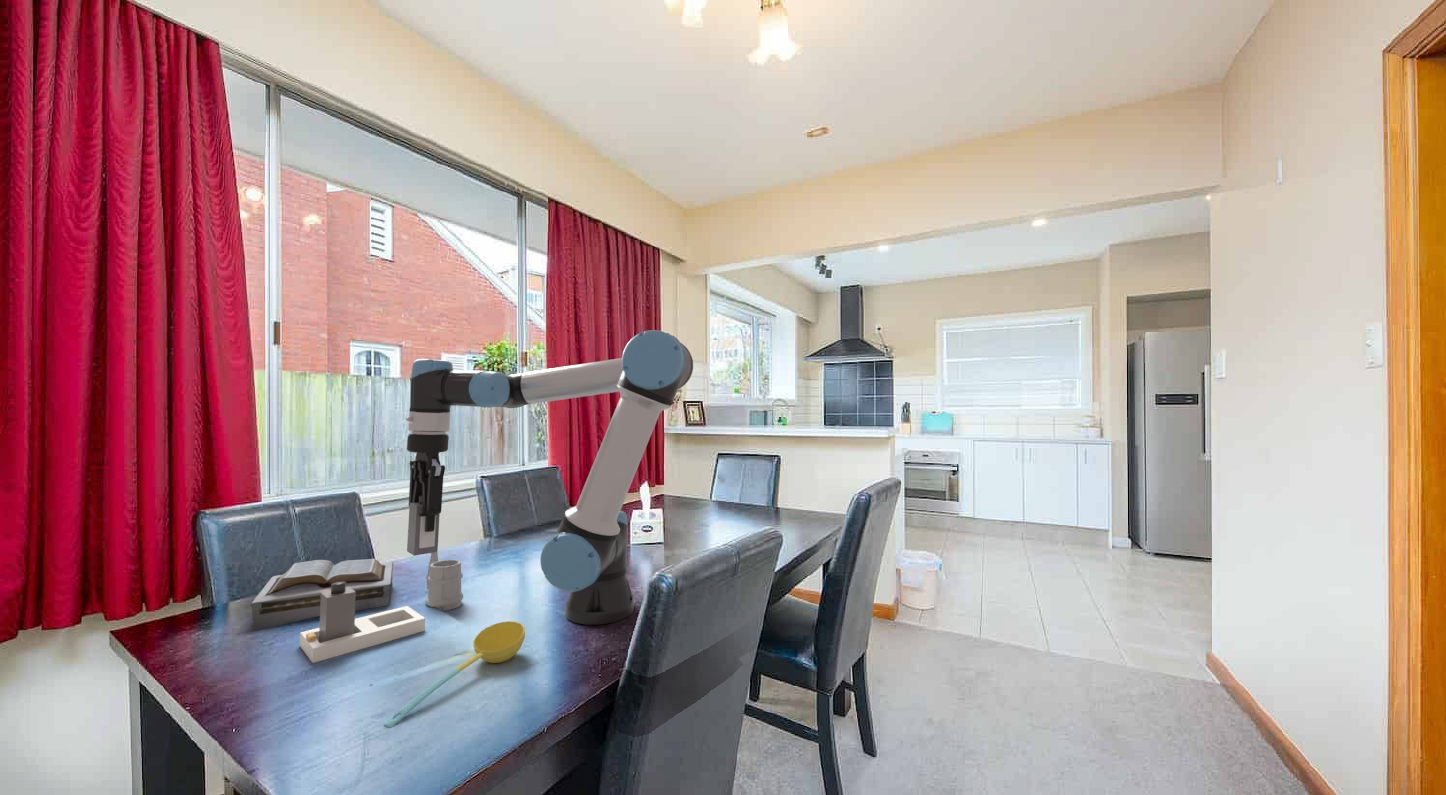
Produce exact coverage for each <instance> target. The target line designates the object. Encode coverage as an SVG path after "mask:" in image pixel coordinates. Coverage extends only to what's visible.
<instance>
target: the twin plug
mask: <svg viewBox="0 0 1446 795" xmlns="http://www.w3.org/2000/svg"><path fill="white" fill-rule="evenodd" d="M355 595H356V592H355V591H354V590H353V589H351V588H350V587H346V582H336V583H333V584H331V590H330V591H325V592H321V601H320V616H319V627H318V628H319V643H322V642H326V641H330V640H333V639H337V638H341V637H344V636H348V635H352V634H354V624H355V619H356V610H355Z"/></svg>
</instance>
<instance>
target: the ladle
mask: <svg viewBox="0 0 1446 795" xmlns="http://www.w3.org/2000/svg"><path fill="white" fill-rule="evenodd" d="M525 629H526V628H525V626H524V625H523V624H522V623H520V622H517V621H511V620H510V621H501V622H498V623H494V624H492V625H490V626H487V627H485V628H484V629H483V630H481V631H480V632H479V633H478V634H477V635H476V636H475V638H474V640H473V642H472V643H473V650H474V651H475V654H476V655H474V656H472V657H471V658H469V659H468V660H466V661H465V662H463V663H462V664H460V665H459V666H457V667H456V668H453V669H451V671H449V672H448V673H446V674H445V675H443V676H442V677H441V678H439V679H438V680H436V681H435V682H433V683H432V684H430V685H429V686H428V687H426V688H425V689H424V690H422V691H421V692H420V693H418V694H417V695H415V696H414V697H413V698H412V699H411V700H410V701H409V702H407V703H406V704H405V705H404V706H403V707H402V708H401V709H399V710H398V711H397V712H396V713H394V715H393V716H392V717H390V718H389V719H388V720H387V721H386V722H385V723H384V724H383V726H384V727H386V728H393V727H395V725H397V723H399V722H400V721H401V720H402V719H403V718H404V717H405V716H407V715H408V714H409V713H410V712H411V711H412V710H413V709H415V707H417V706H418V705H419V704H420V703H421V702H423V701H424V700H425V699H426V698H428V696H430V695H432V693H434V692H435V691H436V690H437V689H439V688H440V687H441V686H442V685H445V684H446V682H448V681H450V680H451V679H452V678H454V677H455V676H457V675H458V674H459V673H460V672H462V671H463V670H464V669H466V668H468V667H469V666H470V665H472V664H473V663H475V662H476V661H479V659H481V660H482V661H485V662H486V663H490V664H499V663H503V662H507V661H509V660H511V658H513V657H514V656H515V655H516V654H517V653H518V652H519V651H520V649H521V647H522V646H523V643H524V640H525V636H526V630H525ZM398 716H399V717H398ZM396 717H398V718H396ZM395 718H396V719H395Z"/></svg>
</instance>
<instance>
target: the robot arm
mask: <svg viewBox="0 0 1446 795" xmlns="http://www.w3.org/2000/svg"><path fill="white" fill-rule="evenodd" d="M693 370H694V360H693V357H692V354H691V352H690V350H689V349H688V348H687V347H686V345H684V344H683V343H682V342H680V340H679V339H678V338H677V337H676V336H674V335H672V334H670V333H669V332H664V331H663V330H657V329H651V330H649V329H648V330H644V331H641V332H639V333H637V334H636V335H634V336H633V337H632V338H631V339H630V340H629V341H628V342H627V344H626V345H625V347H624V350H623V351H622V356H621V357H619V358H614V359H613V358H612V359H605V360H600V361H594V362H593V361H591V362H586V363H580V364H574V365H572V364H571V365H566V366H559V367H553V368H546V369H541V370H534V371H526V372H519V373H513V374H504V373H502V372H500V371H493V370H485V369H484V370H456V369H454V368H453V363H452V362H451V361H449V360H443V359H429V358H419V359H418V358H417V359H416V360H414V362H412V368H411V375H410V378H409V382H410V383H409V384H410V389H409V390H410V392H409V394H410V396H409V398H410V399H409V402H410V403H409V411H408V416H407V417H405V419H406V422H408V426H407V427H408V431H409V432H411V433H409V434H408V435H407V441H406V450H407V451H408V452H410V453H415V454H416V455H415V459H413V460H410V461H409V469H410V470H409V471H410V472H409V474H410V475H409V491H408V492H409V493H408V507H409V506H410V503H416V502H419V496H421V495H423V513H422V514H419V517H421V520H420V538H419V548H426V547H433V546H435V529H436V515H437V514H438V513H440V514H441V513H442V506H443V505H442V504H443V487H444V475H445V471H446V466H445V465H441V461H440V455H439V454H440V453H445V452H447V451H448V450H449V439H450V438H449V434H447V432H449V431H450V430H451V428H450V426H451V407H452V406H453V407H455V406H460V407H474V408H475V407H476V408H477V407H478V408H479V407H480V408H506V409H517V408H520V407H521V408H522V407H524V406H528V405H533V404H540V403H546V402H547V403H548V402H554V401H560V400H568V399H570V400H571V399H576V398H583V397H588V396H589V397H590V396H597V395H604V394H610V393H618V392H619V394H620V395H619V396H620V397H619V400H618V402H617V404H616V408H615V409H614V411H613V412H614V413H613V415H612V417H611V419H610V420H609V421H610V422H609V424H608V426H607V430H606V431H605V433H604V434H605V435H604V437H603V438H602V441H601V444H600V445H599V446H600V447H599V449H598V451H597V454H596V457H595V459H594V461H593V464H592V465H591V468H590V471H589V473H588V476H587V477H586V481H585V483H584V486H583V488H582V490H581V494H580V495H579V497H578V500H577V503H576V504H575V506H572V507H571V508H570V507H569V508H568V509H566V510H565V512H564V515H563V517H562V519H561V522H560V524H559V527H558V529H557V530H556V531H557V532H556V534H555V535H553V536H551V537H550V538H549V540H547V542H546V543H545V544H544V546H543V548H542V550H541V552H540V561H539V562H540V568H541V571H542V572H543V575H544V578H545V579H546V580H547V582H548V583H549V584H550V585H552V586H553V587H555V588H556V589H558V590H560V591H562V592H568V593H569V594H568V597H567V600H566V602H565V609H564V610H565V613H564V615H565V617H566V619H567V620H569V621H571V622H573V623H576V624H579V625H581V624H582V625H591V626H592V625H593V626H594V625H605V624H611V623H616V622H618V621H621V620H624V619H626V618H628V617H630V615H632V613H634V607H635V606H634V604H635V603H634V602H635V601H634V597H633V594H632V589H631V587H630V583H629V580H628V577H627V567H628V566H627V565H628V564H627V562H628V527H629V523H628V516H627V513H626V512H624V511H623V510H621V509H622V508H623V505H624V503H625V500H626V498H627V494H628V493H629V490H630V488H631V484H632V482H633V480H634V477H635V476H636V472H637V470H638V468H639V466H640V462H641V461H642V459H643V457H644V454H645V451H646V449H647V446H648V443H649V441H650V438H651V436H652V434H653V431H654V429H655V427H656V424H657V421H658V420H659V416H660V415H661V413H662V411H663V412H664V411H665V410H667V409H670V408H671V406H672V405H673V402H674V400H675V397H676V394H677V392H678V390H680V389H681V388H683V387H684V386H686V384H687V383H688V382H689V381H690V379H691V377H692V375H693V372H694V371H693Z"/></svg>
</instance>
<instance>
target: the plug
mask: <svg viewBox="0 0 1446 795" xmlns="http://www.w3.org/2000/svg"><path fill="white" fill-rule="evenodd" d="M408 508H409V510H408V511H409V512H408V524H407V525H408V526H407V527H408V528H407V540H406V541H407V544H406V545H407V546H406V552H408V553H409V554H410V555H412V556H420V555H426V554H431V553H434V552H437V553H439V552H438V550H439V531H440V514H441V513H438V514H437V515H436V529H435V546H433V547H426V548H419V538H420V520H421V517H419V514H422V513H423V495H421V496H419V502H416V503H410V506H409V505H408Z"/></svg>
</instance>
